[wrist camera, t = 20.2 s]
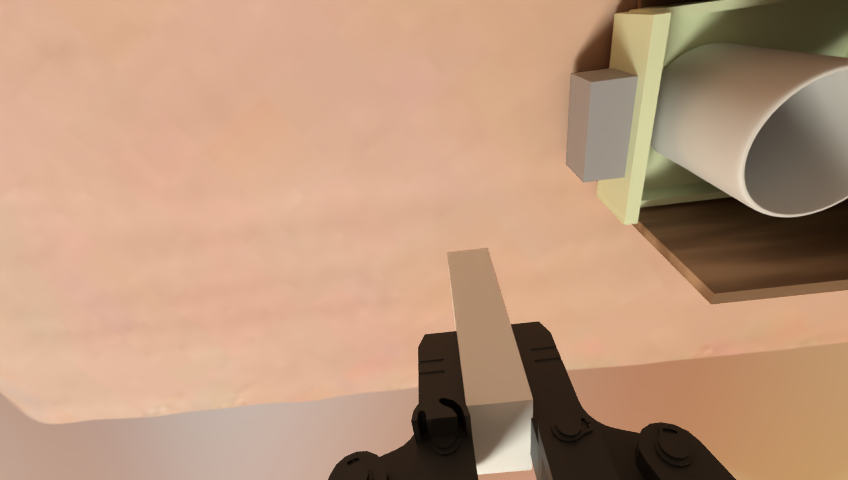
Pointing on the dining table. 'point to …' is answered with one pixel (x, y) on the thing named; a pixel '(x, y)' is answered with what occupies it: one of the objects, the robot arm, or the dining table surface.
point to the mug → (758, 125)
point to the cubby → (748, 244)
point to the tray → (640, 80)
